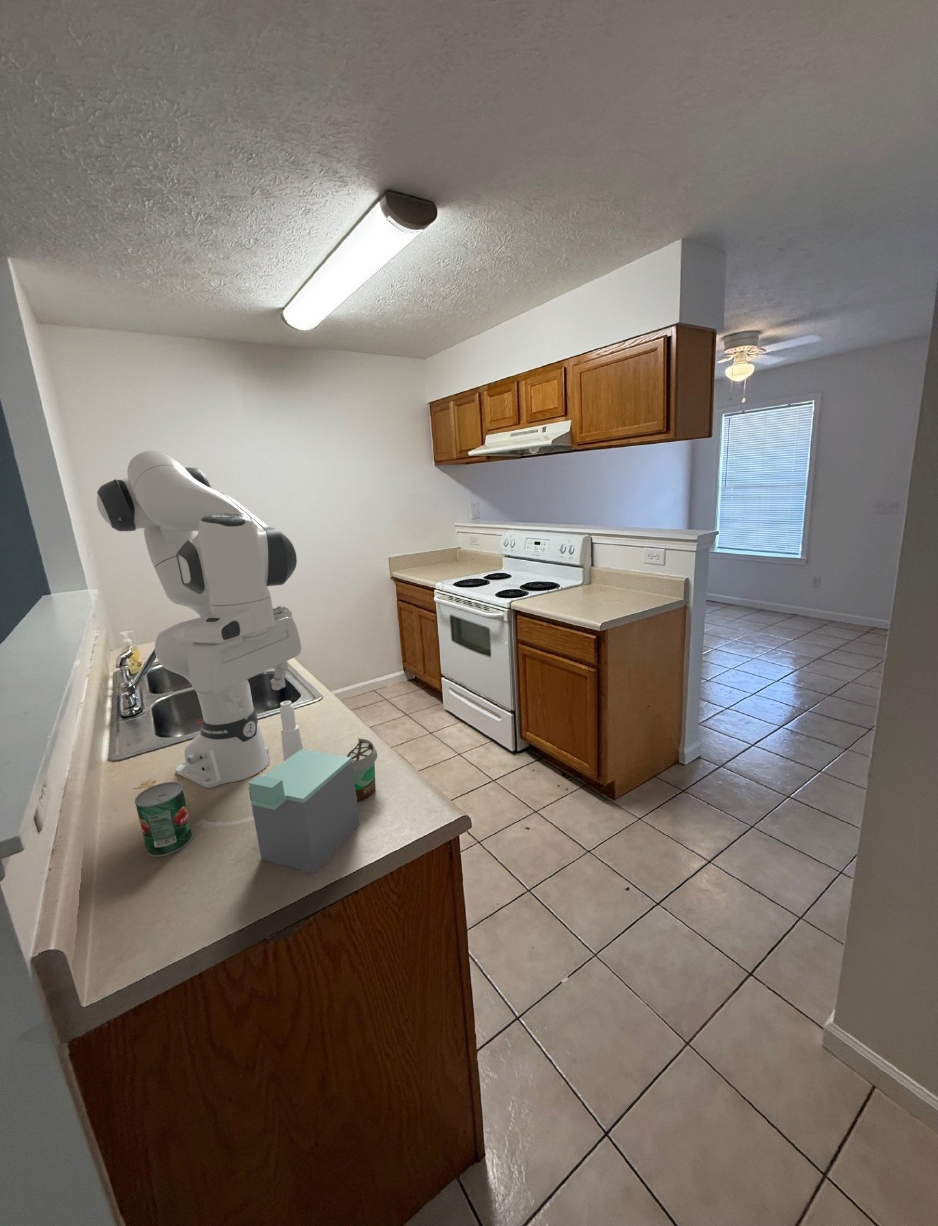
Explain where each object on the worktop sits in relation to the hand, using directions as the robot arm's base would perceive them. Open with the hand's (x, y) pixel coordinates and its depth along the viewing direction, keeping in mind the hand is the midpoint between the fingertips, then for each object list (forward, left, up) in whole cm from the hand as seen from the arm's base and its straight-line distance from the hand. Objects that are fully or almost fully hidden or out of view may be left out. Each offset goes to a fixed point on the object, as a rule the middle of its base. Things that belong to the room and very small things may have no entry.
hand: (258, 699), depth 83 cm
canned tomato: (-27, -2, -32) cm, 42 cm away
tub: (0, +7, -32) cm, 33 cm away
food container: (+1, +24, -32) cm, 40 cm away
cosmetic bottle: (-13, +19, -32) cm, 39 cm away
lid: (0, +5, -18) cm, 19 cm away
